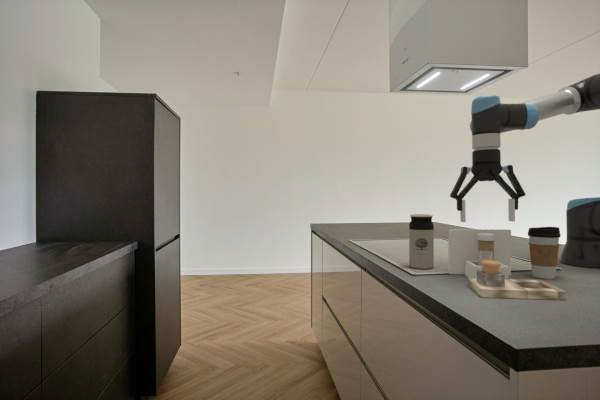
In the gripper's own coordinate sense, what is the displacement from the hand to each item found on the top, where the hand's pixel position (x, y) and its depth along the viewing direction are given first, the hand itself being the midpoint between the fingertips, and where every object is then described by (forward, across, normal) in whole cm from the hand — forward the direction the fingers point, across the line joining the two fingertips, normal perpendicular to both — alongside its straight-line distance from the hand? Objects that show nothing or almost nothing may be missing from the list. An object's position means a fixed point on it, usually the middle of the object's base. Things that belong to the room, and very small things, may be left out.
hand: (487, 221), depth 114 cm
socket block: (+17, -1, +15) cm, 23 cm away
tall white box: (+17, +1, -1) cm, 17 cm away
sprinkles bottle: (+17, +1, 0) cm, 17 cm away
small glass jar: (+14, +4, +15) cm, 21 cm away
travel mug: (+17, +17, -16) cm, 29 cm away
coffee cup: (+18, -17, -5) cm, 25 cm away
